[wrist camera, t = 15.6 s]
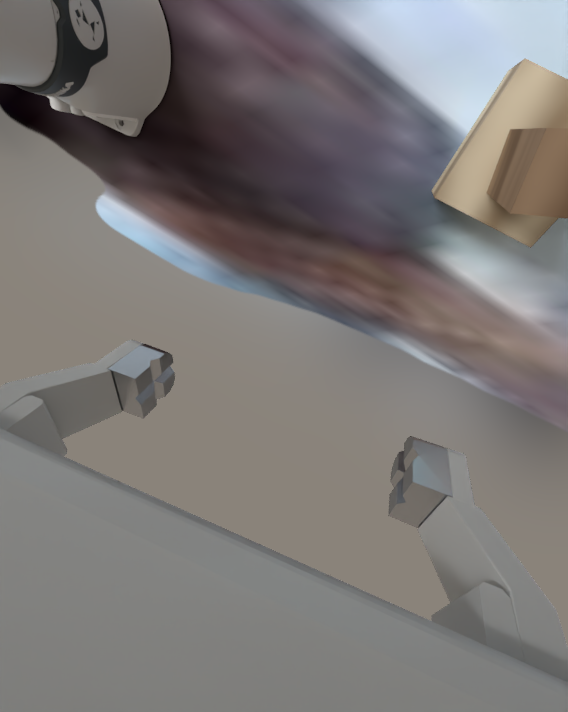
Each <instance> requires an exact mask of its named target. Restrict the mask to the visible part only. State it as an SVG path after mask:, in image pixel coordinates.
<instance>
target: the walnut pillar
mask: <svg viewBox="0 0 568 712" xmlns="http://www.w3.org/2000/svg"><path fill="white" fill-rule="evenodd" d="M487 194H488V195H490V196H491V197H492V198H493V199H494V200H495V201H496V202H498V203H499V204H500V205H501V206H502V207H503V208H504V209H506V210H507V211H508V212H509V213H512V214H523V215H535V216H546V217H557V218H568V128H532V129H510V131H509V134H508V136H507V139H506V142H505V144H504V147H503V150H502V152H501V155H500V158H499V160H498V163H497V166H496V169H495V171H494V174H493V177H492V179H491V182H490V185H489V187H488V190H487Z"/></svg>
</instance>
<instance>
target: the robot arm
mask: <svg viewBox="0 0 568 712" xmlns="http://www.w3.org/2000/svg"><path fill="white" fill-rule="evenodd" d="M170 65H171V52H170V41H169V35H168V30H167V25H166V21H165V18H164V14H163V11H162V9H161V6H160V3H159V1H158V0H0V83H5V84H13V85H16V86H17V87H19V88H21V89H23V90H26V91H29V92H33V93H35V94H39V95H43V96H47V97H48V98H49V99H50V105H51V107H52V108H53V109H56V110H59V111H62V112H68V113H73V114H76V115H80V116H84V115H85V116H87V117H89V118H91V119H93V120H96V121H98V122H100V123H102V124H104V125H106V126H108V127H111V128H113V129H115V130H117V131H119V132H121V133H123V134H125V135H128V136H132V137H136V136H137V135H138V134H139V133H140V131H141V128H142V126H143V123H144V120H145V118H146V117H147V116H148V115H149V114H150V113H151V112H152V111H153V110H154V109H155V108H156V107H157V106H158V105H159V103H160V102H161V100H162V98H163V96H164V94H165V92H166V89H167V85H168V81H169V75H170ZM122 120H123V123H124V125H123V123H122ZM172 363H173V357H172V355H171V354H170V353H168V352H165V351H163V350H160V349H157V348H155V347H152V346H149V345H146V344H143V343H140V342H138V341H135V340H129V341H127V342H125V343H124V344H122V345H121V346H119V347H118V348H116V349H115V350H113V351H112V352H111V353H109V354H108V355H106V356H105V357H103V358H102V359H100V360H99V361H98V362H96V363H95V364H91V363H87V364H84V365H79V366H75V367H71V368H67V369H63V370H59V371H55V372H51V373H46V374H42V375H38V376H34V377H29V378H25V379H21V380H17V381H13V382H9V383H5V384H4V385H2V386H0V712H568V647H567V644H566V641H565V637H564V634H563V631H562V627H561V624H560V621H559V618H558V614H557V611H556V609H555V608H554V607H553V605H552V604H551V603H550V601H549V600H548V599H547V597H546V596H545V595H544V593H543V592H542V590H541V589H540V588H539V586H538V585H537V584H536V582H535V581H534V580H533V578H532V577H531V576H530V574H529V573H528V571H527V570H526V569H525V567H524V566H523V565H522V563H521V562H520V561H519V559H518V558H517V557H516V555H515V554H514V553H513V551H512V550H511V549H510V547H509V546H508V544H507V543H506V542H505V540H504V539H503V538H502V536H501V535H500V534H499V533H498V531H497V530H496V528H495V527H494V526H493V524H492V523H491V522H490V520H489V519H488V518H487V516H486V515H485V514H484V512H483V511H482V510H481V508H479V507H476V506H475V504H474V499H473V493H472V487H471V482H470V477H469V471H468V465H467V460H466V456H465V455H464V454H463V453H460V452H457V451H454V450H451V449H448V448H444V447H442V446H439V445H436V444H433V443H430V442H427V441H424V440H421V439H418V438H415V437H412V436H410V437H409V438H407V440H406V442H405V443H404V451H402V452H399V454H398V455H397V457H396V458H395V461H394V464H393V467H392V472H391V483H392V485H393V487H394V489H393V490H392V492H391V493H390V497H389V516H391V517H393V518H395V519H398V520H400V521H402V522H405V523H407V524H409V525H412V526H414V527H416V528H418V532H419V534H420V537H421V539H422V541H423V543H424V545H425V548H426V550H427V552H428V554H429V556H430V559H431V561H432V563H433V565H434V567H435V570H436V572H437V574H438V577H439V579H440V581H441V583H442V585H443V587H444V590H445V592H446V594H447V596H448V599H449V601H450V604H448V605H447V606H445V607H444V608H442V609H441V610H439V611H438V612H436V613H435V614H433V615H432V621H430V620H428V619H425V618H423V617H421V616H419V615H417V614H414V613H412V612H410V611H408V610H405V609H403V608H401V607H399V606H396V605H394V604H392V603H390V602H387V601H385V600H383V599H381V598H378V597H376V596H374V595H372V594H370V593H367V592H365V591H363V590H361V589H359V588H356V587H354V586H352V585H350V584H347V583H345V582H343V581H341V580H338V579H336V578H334V577H332V576H329V575H327V574H325V573H323V572H320V571H318V570H316V569H314V568H311V567H309V566H307V565H305V564H303V563H300V562H298V561H296V560H294V559H292V558H289V557H287V556H285V555H282V554H280V553H278V552H276V551H274V550H272V549H269V548H267V547H265V546H263V545H260V544H258V543H256V542H254V541H251V540H249V539H247V538H245V537H242V536H240V535H238V534H236V533H234V532H231V531H229V530H227V529H225V528H222V527H220V526H218V525H216V524H214V523H211V522H209V521H207V520H205V519H202V518H200V517H198V516H196V515H193V514H191V513H189V512H187V511H184V510H182V509H180V508H178V507H175V506H173V505H171V504H169V503H166V502H164V501H162V500H160V499H158V498H155V497H153V496H151V495H149V494H147V493H144V492H142V491H140V490H137V489H135V488H133V487H131V486H129V485H126V484H124V483H122V482H120V481H117V480H115V479H113V478H111V477H108V476H106V475H104V474H102V473H99V472H97V471H95V470H93V469H91V468H88V467H86V466H84V465H82V464H80V463H77V462H75V461H73V460H71V459H68V458H66V457H64V456H65V455H66V454H67V448H66V446H65V444H64V442H63V440H62V439H63V438H65V437H68V436H70V435H72V434H74V433H76V432H79V431H81V430H83V429H85V428H88V427H90V426H92V425H94V424H96V423H99V422H101V421H103V420H105V419H108V418H110V417H112V416H114V415H116V414H119V413H121V412H122V411H124V412H127V413H130V414H133V415H135V416H138V417H141V418H145V416H147V415H148V413H150V411H151V410H152V409H153V408H154V407H155V406H156V405H157V399H160V398H163V397H165V396H166V395H167V394H168V393H169V392H170V390H171V388H172V386H173V384H174V380H175V374H174V371H173V370H172V368H171V367H170V365H171V364H172Z"/></svg>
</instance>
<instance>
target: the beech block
mask: <svg viewBox="0 0 568 712" xmlns="http://www.w3.org/2000/svg"><path fill="white" fill-rule="evenodd" d="M532 128H568V79H565V78H563V77H561V76H559V75H557V74H555V73H553V72H551V71H549V70H547V69H545V68H543V67H541V66H539V65H537V64H535V63H533V62H531V61H529V60H527V59H524V60H522V61H521V62H520V63H518V64H517V65H515V66H514V67H513V68H511V69H510V70H509V71H508V72H507V73H506V75H505V77H504V78H503V80H502V81H501V83H500V84H499V86H498V87H497V89H496V91H495V92H494V94H493V95H492V97H491V98H490V100H489V102H488V103H487V105H486V106H485V108H484V109H483V111H482V112H481V114H480V116H479V117H478V119H477V120H476V122H475V123H474V125H473V127H472V128H471V130H470V131H469V133H468V134H467V136H466V138H465V139H464V141H463V142H462V144H461V145H460V147H459V148H458V150H457V152H456V153H455V155H454V156H453V158H452V159H451V161H450V163H449V164H448V166H447V167H446V169H445V170H444V172H443V174H442V175H441V177H440V178H439V180H438V181H437V183H436V184H435V186H434V188H433V189H432V193H433V196H434V198H436V199H438V200H440V201H442V202H444V203H446V204H448V205H450V206H452V207H453V208H455V209H457V210H459V211H461V212H463V213H465V214H467V215H469V216H471V217H473V218H475V219H477V220H479V221H480V222H482V223H484V224H486V225H488V226H490V227H492V228H494V229H496V230H498V231H500V232H502V233H504V234H505V235H507V236H509V237H511V238H513V239H515V240H517V241H519V242H521V243H523V244H525V245H527V246H529V247H530V248H531V247H532V246H533V245H534V244H535V243H536V241H537V240H538V239H539V238H540V237H541V236H542V235H543V234H544V233H545V232H546V231H547V230H548V229H549V228H550V227H551V226H552V224H553V223H554V222H555V221H556V220H557V219H558V218H557V217H546V216H535V215H523V214H512V213H509V212H508V211H507V210H506V209H504V208H503V207H502V206H501V205H500V204H499V203H498V202H496V201H495V200H494V199H493V198H492V197H491V196H490V195H488V194H487V190H488V187H489V185H490V182H491V179H492V177H493V174H494V171H495V169H496V166H497V163H498V160H499V158H500V155H501V152H502V150H503V147H504V144H505V142H506V139H507V136H508V134H509V131H510V129H532Z"/></svg>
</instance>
